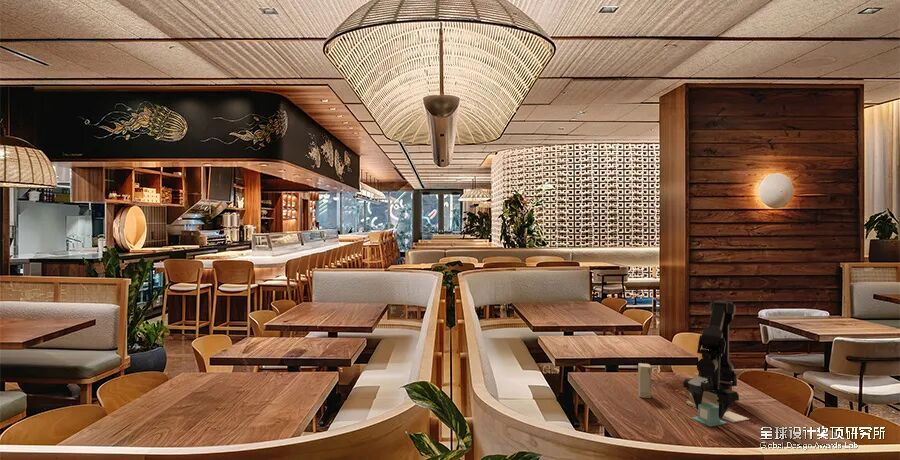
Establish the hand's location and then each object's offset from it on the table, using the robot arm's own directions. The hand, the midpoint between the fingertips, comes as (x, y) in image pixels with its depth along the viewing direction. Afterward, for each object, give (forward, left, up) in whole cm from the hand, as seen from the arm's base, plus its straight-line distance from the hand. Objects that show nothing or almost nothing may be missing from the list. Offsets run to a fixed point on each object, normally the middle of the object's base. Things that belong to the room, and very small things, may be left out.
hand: (709, 413), depth 193 cm
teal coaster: (0, 0, -2) cm, 2 cm away
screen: (-9, -10, -2) cm, 14 cm away
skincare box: (+1, -30, -3) cm, 30 cm away
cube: (0, 0, -2) cm, 2 cm away
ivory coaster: (-11, 0, -2) cm, 11 cm away
